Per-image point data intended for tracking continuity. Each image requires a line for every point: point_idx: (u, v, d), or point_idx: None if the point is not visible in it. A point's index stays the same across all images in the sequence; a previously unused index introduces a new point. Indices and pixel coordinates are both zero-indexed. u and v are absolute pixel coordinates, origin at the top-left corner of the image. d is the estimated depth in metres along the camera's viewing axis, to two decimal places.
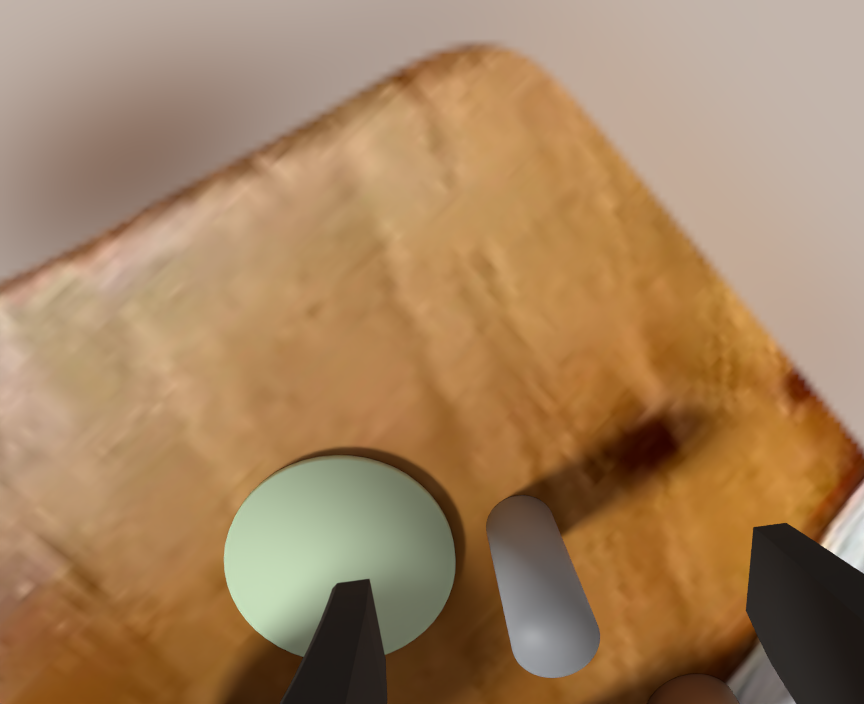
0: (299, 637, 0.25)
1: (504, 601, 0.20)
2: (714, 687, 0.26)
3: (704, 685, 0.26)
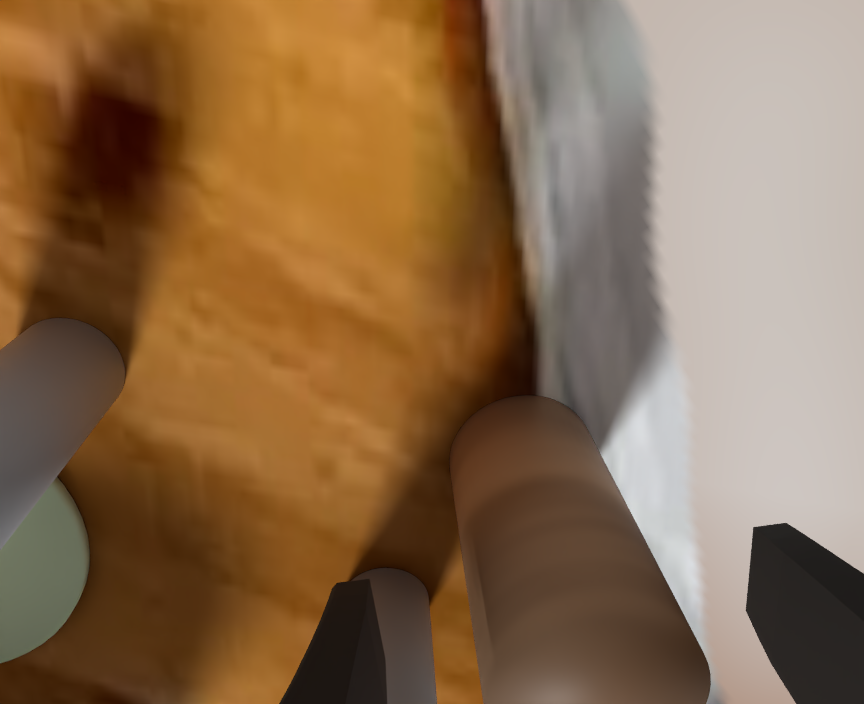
0: None
1: None
2: (503, 412, 0.16)
3: (489, 418, 0.16)
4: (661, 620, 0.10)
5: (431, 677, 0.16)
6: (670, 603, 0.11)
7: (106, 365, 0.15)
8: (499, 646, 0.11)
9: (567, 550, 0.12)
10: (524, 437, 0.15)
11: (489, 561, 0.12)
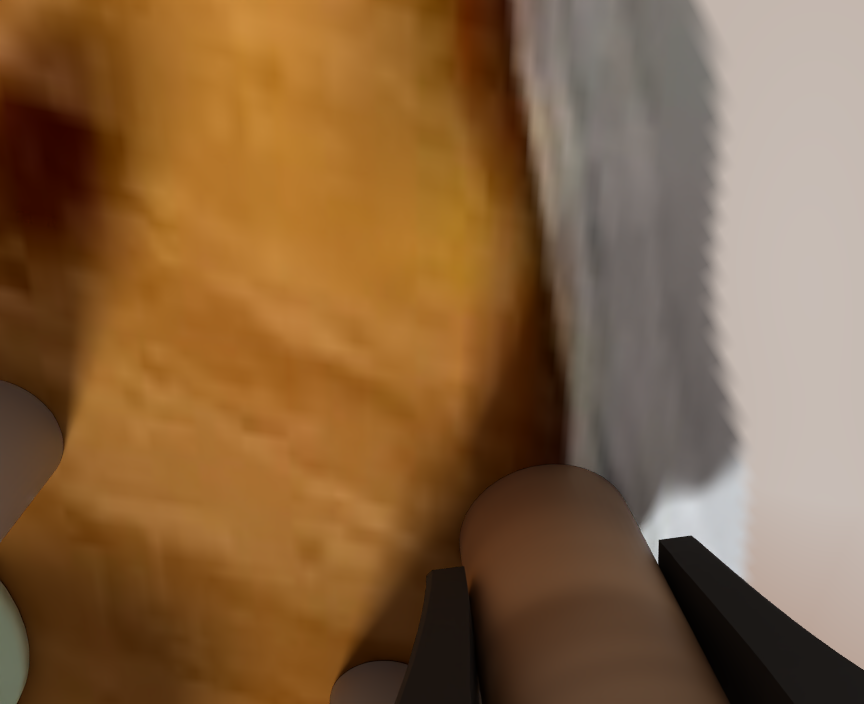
0: None
1: None
2: (526, 488, 0.13)
3: (509, 495, 0.13)
4: None
5: None
6: None
7: (35, 437, 0.12)
8: None
9: None
10: (555, 527, 0.12)
11: None
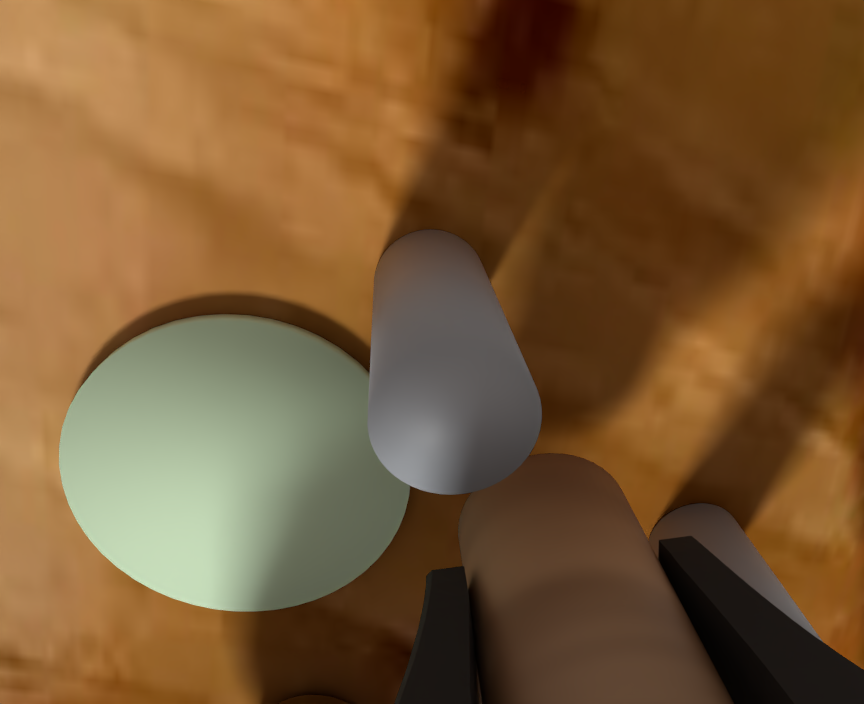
0: (268, 588, 0.18)
1: None
2: (524, 476, 0.13)
3: (506, 483, 0.14)
4: None
5: None
6: None
7: None
8: None
9: (618, 689, 0.09)
10: (551, 514, 0.12)
11: (514, 691, 0.10)
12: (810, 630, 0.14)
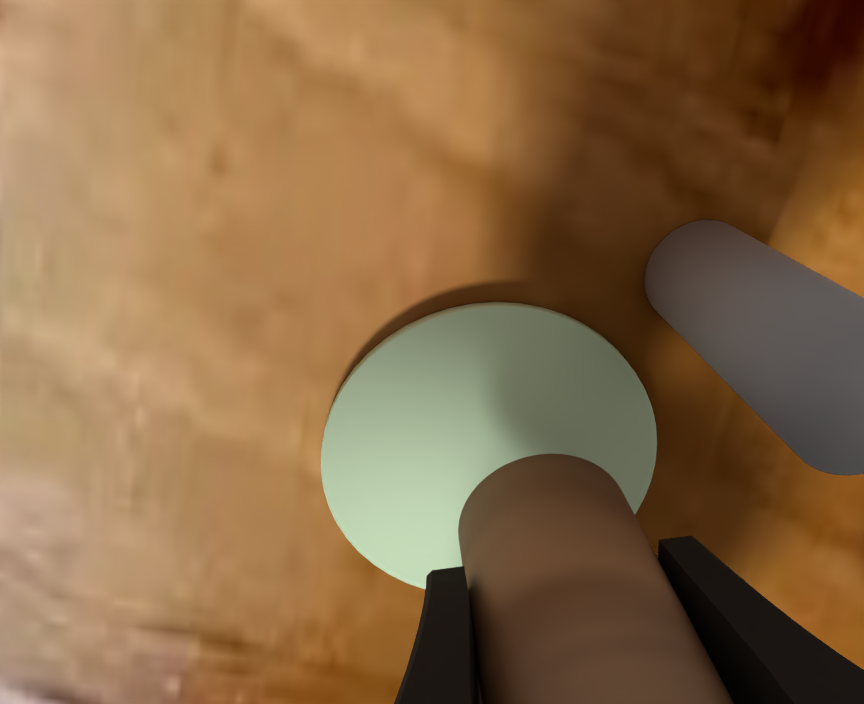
0: None
1: (741, 391, 0.11)
2: (524, 476, 0.13)
3: (506, 483, 0.14)
4: None
5: None
6: None
7: None
8: None
9: (619, 690, 0.09)
10: (551, 514, 0.12)
11: (514, 691, 0.10)
12: None
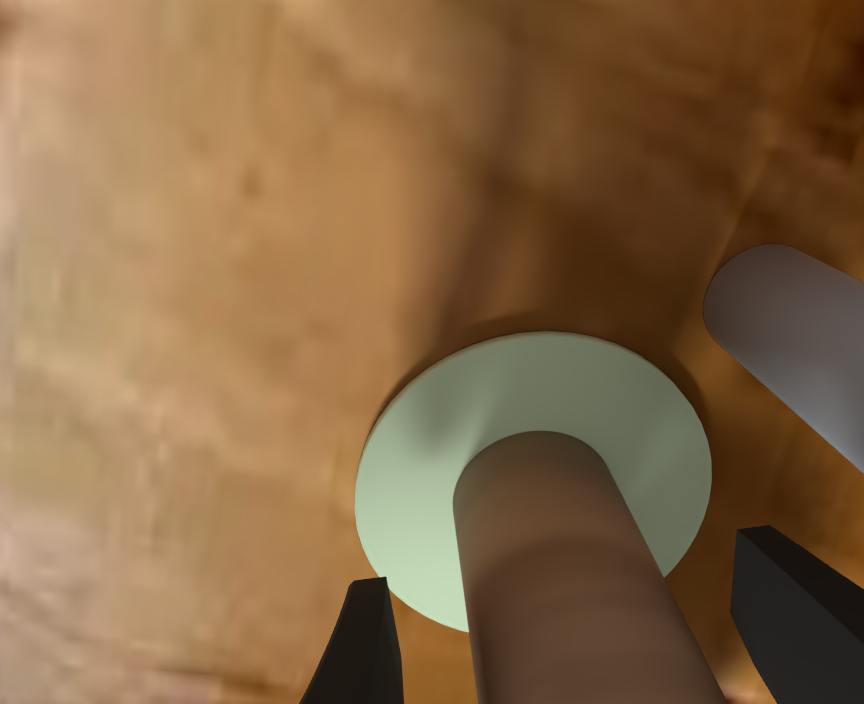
0: None
1: (833, 437, 0.10)
2: (514, 451, 0.14)
3: (498, 457, 0.14)
4: None
5: None
6: None
7: None
8: None
9: (594, 637, 0.10)
10: (538, 485, 0.13)
11: (500, 641, 0.11)
12: None
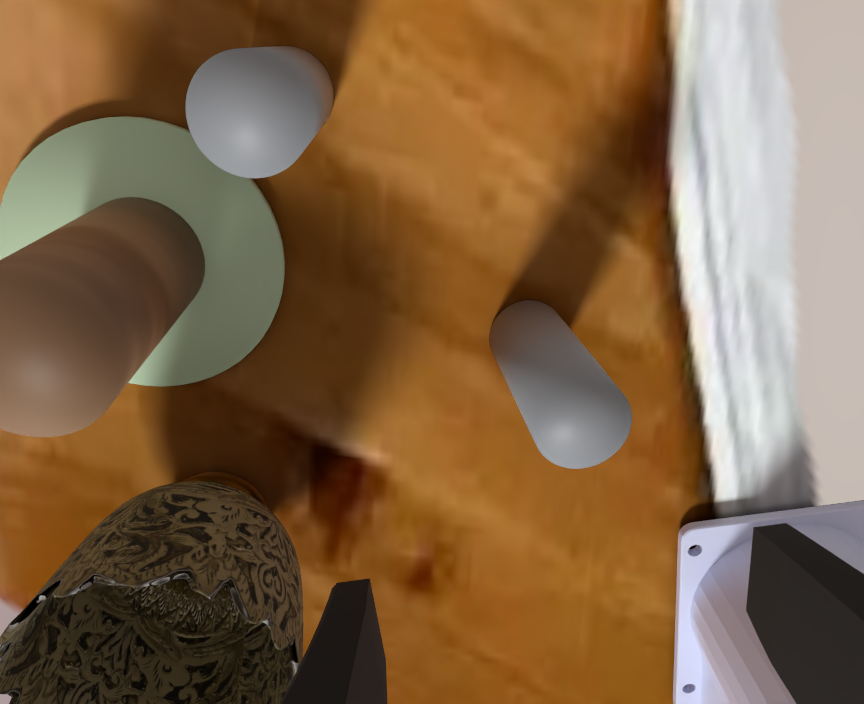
0: (172, 364, 0.22)
1: None
2: (101, 205, 0.19)
3: None
4: (50, 280, 0.13)
5: None
6: (87, 283, 0.14)
7: (328, 79, 0.18)
8: None
9: (24, 251, 0.14)
10: (91, 213, 0.18)
11: None
12: (583, 352, 0.18)
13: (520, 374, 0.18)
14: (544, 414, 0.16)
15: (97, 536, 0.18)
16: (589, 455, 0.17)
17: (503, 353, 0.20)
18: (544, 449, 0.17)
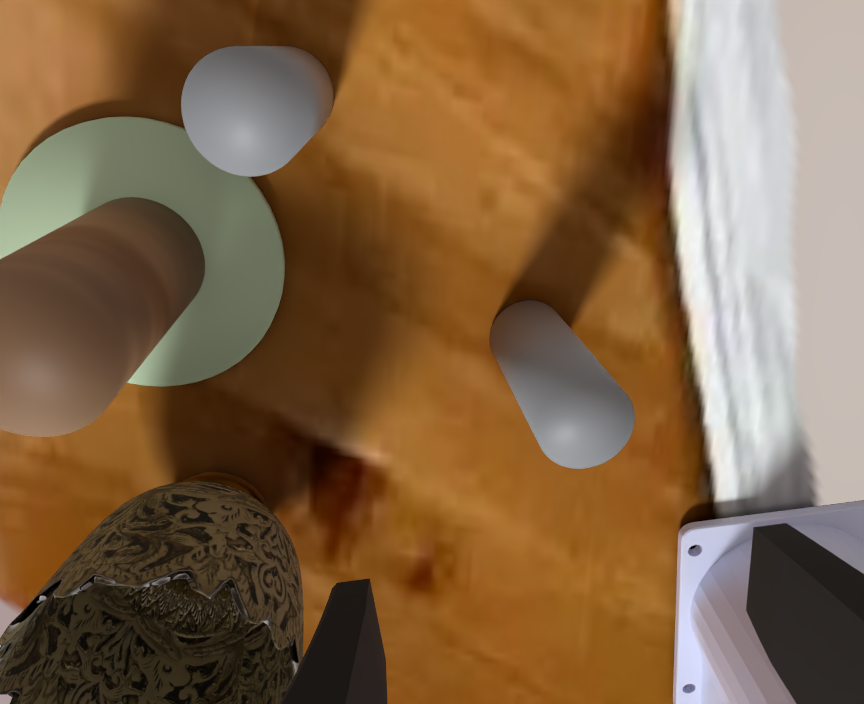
0: (172, 364, 0.22)
1: None
2: (101, 205, 0.19)
3: None
4: (48, 280, 0.13)
5: None
6: (86, 282, 0.14)
7: (327, 79, 0.18)
8: None
9: (23, 250, 0.14)
10: (91, 213, 0.18)
11: None
12: (582, 351, 0.18)
13: (520, 378, 0.18)
14: (547, 417, 0.16)
15: (97, 536, 0.18)
16: (594, 454, 0.17)
17: (503, 356, 0.20)
18: (549, 452, 0.17)
